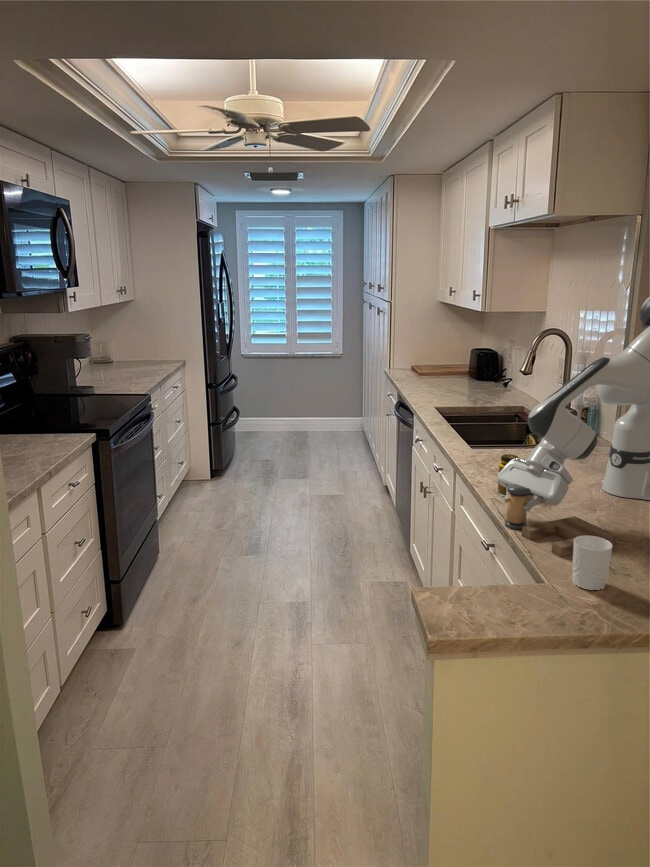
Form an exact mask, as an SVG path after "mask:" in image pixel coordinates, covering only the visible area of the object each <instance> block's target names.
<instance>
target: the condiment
mask: <svg viewBox="0 0 650 867" xmlns="http://www.w3.org/2000/svg"><path fill="white" fill-rule="evenodd" d="M516 458H519V456H517V455H516V454H512V453H511V454H508V453H506V454H502V455H501V456H500V463H499V465H498V466H499V467H498V474H499V473H500V471H501V470H502V469H503V468H504V467H505V466H506V465H507V464H508V463H509V461H510V460H513V459H516ZM493 490H494V491H495V492H496V494H498V495H499V496H501V497H505V496H506V490H507V488H506V487H504V486H501V485H500V484H499V482H498V481H497V488H493Z"/></svg>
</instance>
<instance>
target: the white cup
mask: <svg viewBox="0 0 650 867" xmlns="http://www.w3.org/2000/svg"><path fill="white" fill-rule="evenodd" d="M613 547H614V545H612V543H611V542H609V541H608V540H606V539H603V538H600V537H596V536H578V537H576V538H574V544H573V554H572V578H571V581H572V583H573V585H574V584H575V586H576V585H577V586H578V587H577V586H576V587H577V588H579V587H581V588H584V589H590V590H599V591H601V590H600V589H602V590H604V589H605V586H606V583H607V577H608V574H609V570H610V565H611V564H610V563H611V559H612V551H613ZM581 588H580V589H581ZM584 589H583V590H584Z"/></svg>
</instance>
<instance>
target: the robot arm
mask: <svg viewBox="0 0 650 867" xmlns="http://www.w3.org/2000/svg"><path fill="white" fill-rule="evenodd" d="M638 316H639V320H640V322H641V324H642V325H641V328H642V329H644V330H643V331H642V332H640V334H638V335H637V336H636V337H635V338H634V339H633V340H632V341H631V342H630V343H629V344H628V346H627V347H626V348H624V349H623V351H620V352H619V353H618V354H615V355H614V356H611V357H601V358H598V359H597V360H595V361H593V362H592V363H590V364H589V365H587V366H586V367H585V368H584V369H582V370H581V371H579V372H578V373H577V374H576V375H575V376H573V377H572V378H571V379H570V380H568V381H567V382H566V383H564V385H562V386H561V387H560V388H559V389H557V390H555V392H554V393H552V394H551V395H549V396H548V397H547V398H545V399H543V400H542V401H541V402H539V403H538V404H536V405H535V406H534V407H533V408H532V409H531V410H530V412H529V413H528V416H527V424H528V427H529V428H528V429H529V430H530V432H531V433H532V434H534V435H535V436H537V437H539V438H540V442H539V444H537V445H536V446H535V447H534V448H533V449H532V451H531V453H530V454H529V455H528V457H527V459H521V458H520V457H518V458H516V459H513V460H510V461H509V463H508V464H507V465H506V466H505V467H504V468H503V469H502V470H501V471H500V473H499V472H498V474H497V475H496V481H497V483H498V482H499V484H500V485H501V486H504V487H506V488H507V487H508V486H509V485H513V484H517V485H520V486H523V487H526V488H529V489H530V492H529V494H528V497H531V498H532V499H530V500H529V501H527V502H525V503H524V505H523V506H522V508H523V509H524V510H526V511H527V512H530V511H531V509H532V508H534V507H535V506H537V505H539V504H540V503H541V501H542V502H544V503H548V504H551V505H553V506H557V505H559V504H560V503H561V502H563V500H564V499H565V497H566V495H567V493H568V491H569V485H571V484H572V483H573V481H574V478H573V477H572V475H571V474H570V472H569V471H568V470H567V468H566V467H565V466H564V463H565V461H566V460H567V459H569V460H571V461H574V460H585V459H587V458H588V457H589V456H590V455H591V454H592V452H593V451H594V450H595V448H596V446H597V444H598V435H597V432H596V431H595V430H594V429H593V427H591V426H589V425H588V424H587V423H585V422H584V421H583V420H582V419H581V418H580V417H578V416H577V415H574V413H572V412H570V411H569V410H568V409H566V406H568V405H569V404H570V403H571V402H573V401H574V400H575V399H577V398H578V397H579V396H580V395H581V394H582V393H584V392H585V391H587V390H588V389H589V388H591V387H594V386H595V392H596V395H597V397H598V399H600V401H601V402H602V403H605V404H609V405H614V406H630V408H629V409H628V410H627V412H625V414H623V415H622V416H620V417H619V418H617V419H616V421H615V422H614V426H613V435H612V444H611V445H610V446H609V447H610V449H609V451H608V452H609V454H608V455H609V456H608V457H609V459H608V460H607V463H606V464H607V465H606V469H605V472H604V477H603V479H602V478H601V479H602V480H601V484H602V486H601V489H602V490H603V491H604V492H606V493H607V494H611V495H613V496H617V497H621V498H622V497H623V498H628V499H640V500H646V501H650V295H649V297H647V298H646V299H645V301H644V302H643V303H642V306H641V309H640V310H639V314H638ZM506 498H508V491H507V490H506V496H504V498H503V502H504V503H506V504H508V502H505V499H506Z"/></svg>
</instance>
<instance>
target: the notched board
mask: <svg viewBox="0 0 650 867" xmlns="http://www.w3.org/2000/svg"><path fill="white" fill-rule="evenodd" d="M554 535H557V536H559V537H561V538H563V539H564V540H560V541H554V542H552V543H551V551H550V552H551V553H552V554H554V555H555V554H556V556H557V557H559V558H562V557H566V556H571V555H573V544H574V538H576V537H578V536H596V537H600V538H603V539H606V540H608V541H609V542H611V543H612V545H613V546H614V545H616V539H617V535H616V534H614V533H613V532H610V531H608V530H605V529H603V528H602V527H599V526H597V525H595V524H593V523H591V522H588V521H586V520H583V519H582V518H579V517H578V516H576V515H575V516H569V517H565V518H559V519H555V520H551V521H545V522H539V523H536V524H535V523H534V524H530V525H527V526H524V527H522V530H521V537H523V538H524V539H527V540H529V541H531V540H536V539H541V538H545V537H550V536H554Z"/></svg>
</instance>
